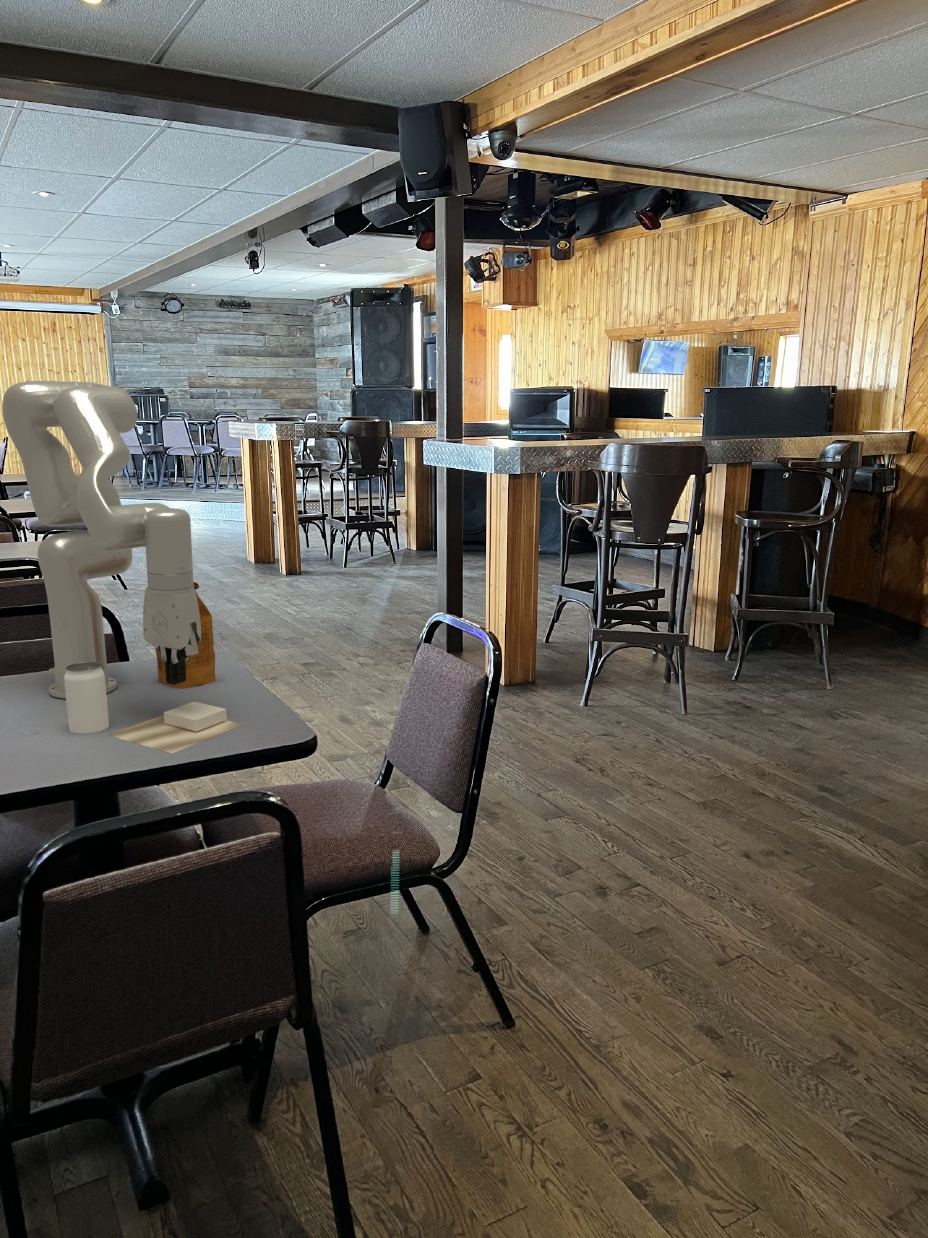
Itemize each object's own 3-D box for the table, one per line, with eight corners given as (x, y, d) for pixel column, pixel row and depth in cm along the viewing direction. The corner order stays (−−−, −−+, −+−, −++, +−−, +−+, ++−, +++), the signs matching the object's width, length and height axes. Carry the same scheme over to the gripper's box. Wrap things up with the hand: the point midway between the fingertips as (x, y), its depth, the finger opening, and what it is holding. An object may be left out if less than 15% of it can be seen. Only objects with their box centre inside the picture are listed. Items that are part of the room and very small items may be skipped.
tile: (163, 712, 161) (195, 720, 157) (194, 701, 167) (226, 709, 163) (164, 724, 162) (196, 733, 157) (195, 713, 167) (226, 721, 163)
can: (95, 740, 157) (89, 672, 154) (61, 737, 158) (54, 670, 155) (117, 727, 163) (111, 662, 160) (84, 725, 164) (77, 660, 162)
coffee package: (197, 672, 196) (190, 570, 191) (222, 686, 187) (215, 579, 182) (151, 681, 190) (142, 576, 185) (175, 695, 181) (167, 585, 176)
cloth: (107, 740, 157) (107, 735, 156) (180, 714, 170) (180, 709, 170) (172, 759, 148) (172, 753, 148) (244, 730, 162) (243, 724, 162)
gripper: (123, 579, 159) (130, 680, 164) (184, 590, 152) (189, 696, 156) (158, 572, 166) (164, 669, 170) (218, 582, 158) (222, 684, 163)
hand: (176, 682), depth 163 cm, fingers closed
